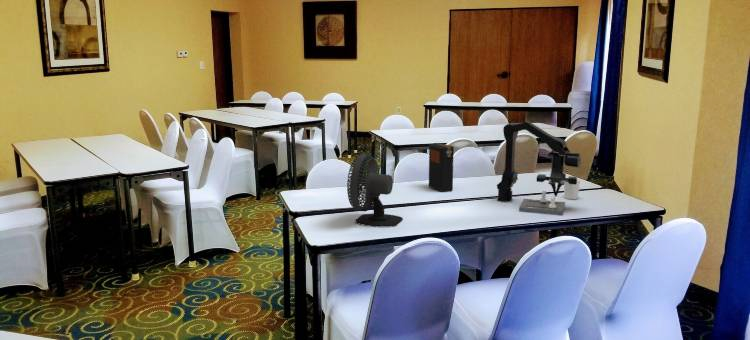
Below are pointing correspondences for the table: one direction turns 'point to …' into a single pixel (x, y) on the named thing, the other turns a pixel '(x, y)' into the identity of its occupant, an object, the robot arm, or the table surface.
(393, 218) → the fan
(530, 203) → the board
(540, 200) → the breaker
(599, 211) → the table surface
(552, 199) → the block
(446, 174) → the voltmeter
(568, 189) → the white cup
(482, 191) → the table surface
